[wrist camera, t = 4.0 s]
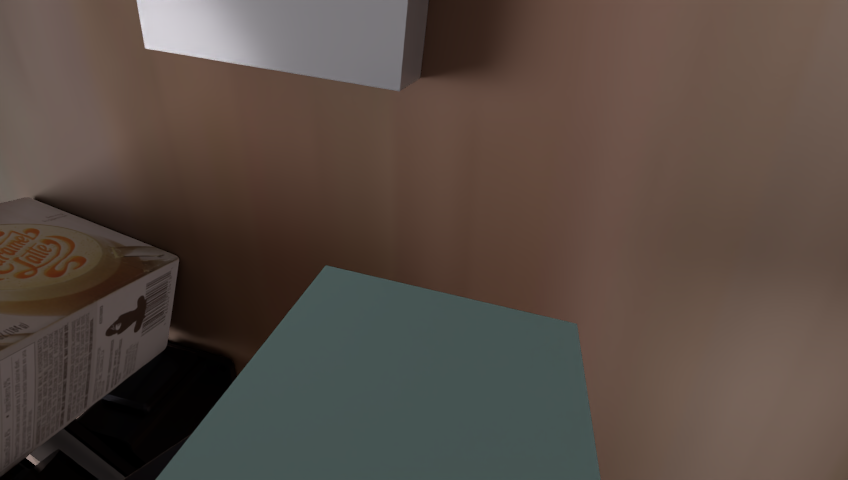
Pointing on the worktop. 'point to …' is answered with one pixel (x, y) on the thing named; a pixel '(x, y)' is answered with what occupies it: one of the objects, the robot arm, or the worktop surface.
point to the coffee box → (71, 318)
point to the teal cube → (400, 393)
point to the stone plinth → (297, 36)
